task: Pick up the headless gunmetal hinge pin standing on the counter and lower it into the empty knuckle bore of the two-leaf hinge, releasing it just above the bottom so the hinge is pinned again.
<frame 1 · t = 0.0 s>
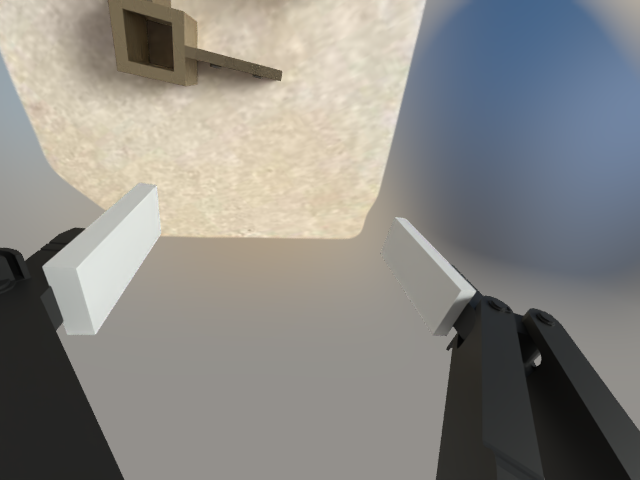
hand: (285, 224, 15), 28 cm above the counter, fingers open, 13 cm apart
hinge: (168, 47, 31), on the counter
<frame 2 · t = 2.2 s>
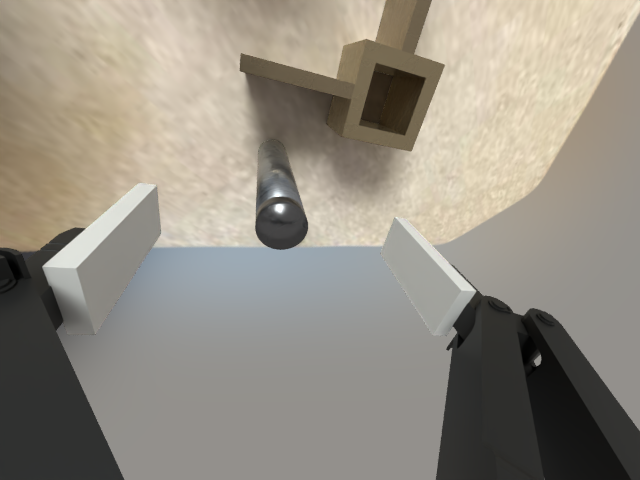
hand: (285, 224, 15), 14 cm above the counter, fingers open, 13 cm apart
hinge: (366, 95, 25), on the counter
pin: (272, 154, 27), on the counter
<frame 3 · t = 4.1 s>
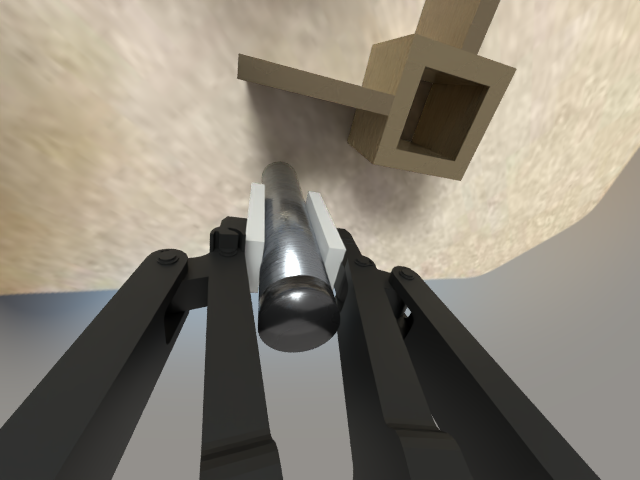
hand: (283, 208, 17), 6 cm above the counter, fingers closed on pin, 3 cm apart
hinge: (397, 107, 20), on the counter
pin: (279, 179, 21), on the counter, touching gripper
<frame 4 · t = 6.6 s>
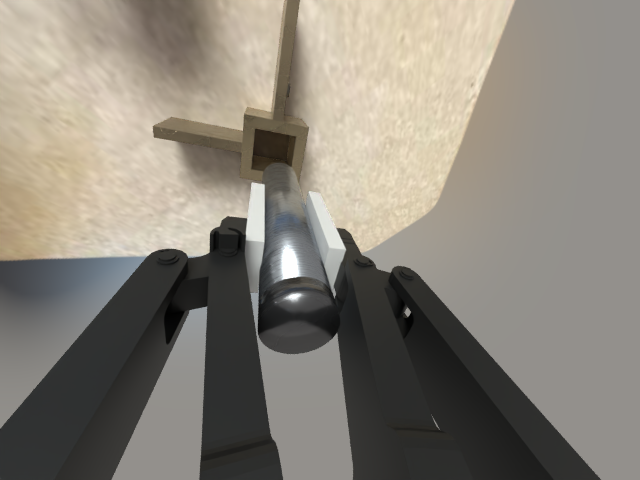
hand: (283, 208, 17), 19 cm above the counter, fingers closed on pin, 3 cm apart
hinge: (271, 141, 33), on the counter
pin: (279, 179, 21), point 14 cm above the counter, touching gripper
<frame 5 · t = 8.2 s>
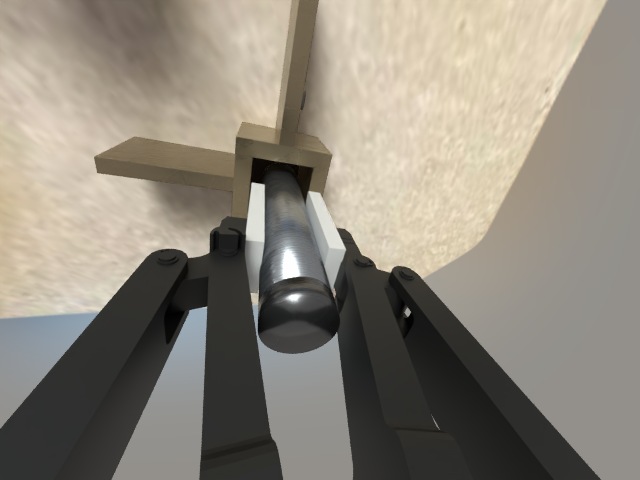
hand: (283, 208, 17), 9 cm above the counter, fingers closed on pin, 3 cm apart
hinge: (276, 166, 24), on the counter
pin: (279, 179, 21), point 3 cm above the counter, touching gripper
when the fingers open (7 cm above the counter, at t = 9.4 s): pin drops 2 cm, resting in hinge.
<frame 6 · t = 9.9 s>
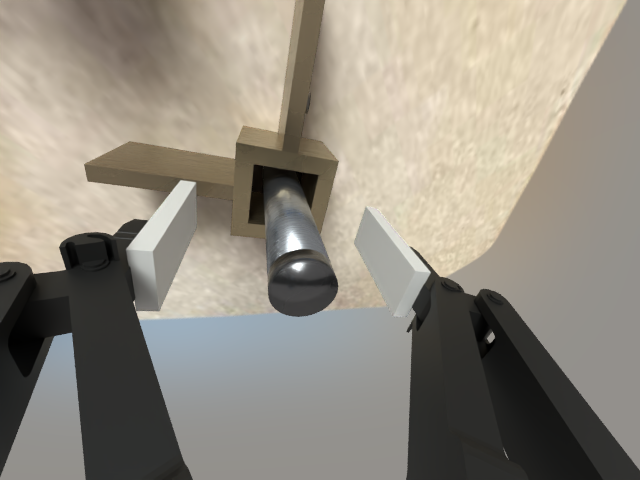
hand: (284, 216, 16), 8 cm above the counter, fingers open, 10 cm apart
hinge: (278, 172, 23), on the counter
pin: (278, 172, 23), resting in hinge
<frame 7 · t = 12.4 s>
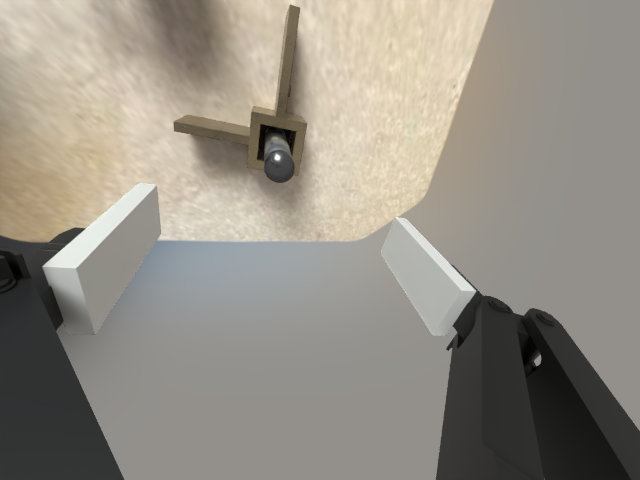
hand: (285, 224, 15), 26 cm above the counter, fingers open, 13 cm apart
hinge: (275, 136, 37), on the counter
pin: (275, 136, 37), resting in hinge
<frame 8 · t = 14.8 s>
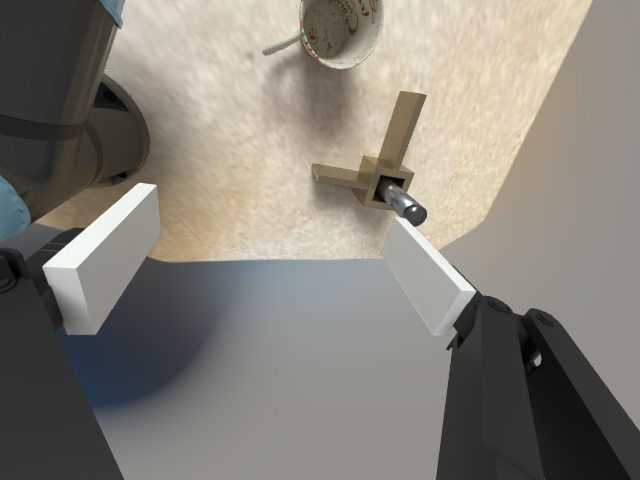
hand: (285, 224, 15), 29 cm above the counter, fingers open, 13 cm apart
hinge: (374, 177, 46), on the counter
mug: (308, 39, 34), on the counter
pin: (374, 177, 46), resting in hinge
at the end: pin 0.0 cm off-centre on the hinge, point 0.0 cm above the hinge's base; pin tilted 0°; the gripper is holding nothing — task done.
